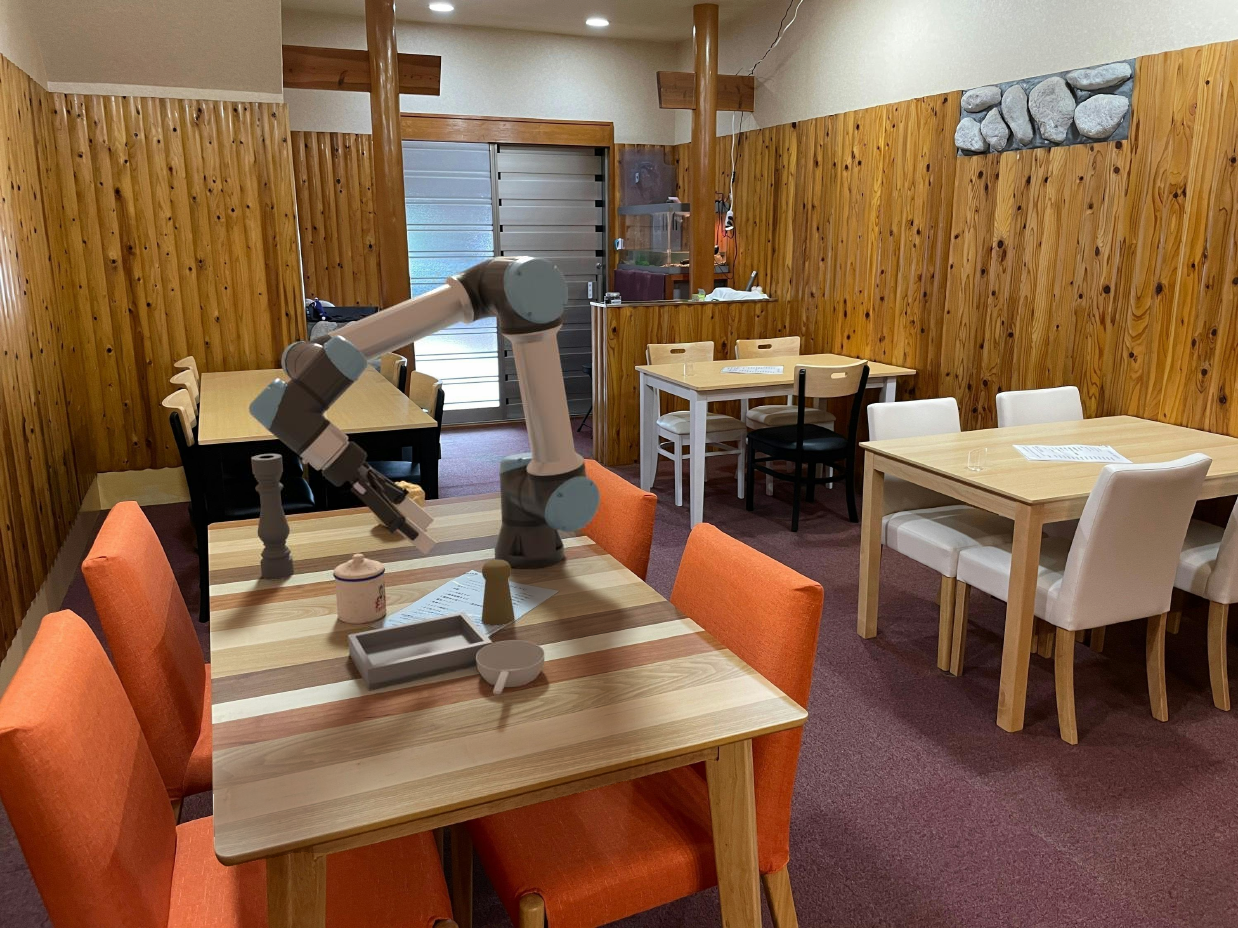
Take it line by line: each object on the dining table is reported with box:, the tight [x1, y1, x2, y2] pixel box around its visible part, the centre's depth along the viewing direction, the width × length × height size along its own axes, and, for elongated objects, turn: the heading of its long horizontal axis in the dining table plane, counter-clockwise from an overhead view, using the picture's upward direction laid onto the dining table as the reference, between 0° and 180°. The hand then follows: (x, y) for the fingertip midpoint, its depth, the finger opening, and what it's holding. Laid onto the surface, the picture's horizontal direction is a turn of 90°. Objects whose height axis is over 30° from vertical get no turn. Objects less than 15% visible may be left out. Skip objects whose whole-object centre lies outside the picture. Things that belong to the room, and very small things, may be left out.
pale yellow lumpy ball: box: [371, 480, 426, 528], centre depth 214 cm, size 12×12×11 cm
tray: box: [347, 611, 493, 691], centre depth 145 cm, size 20×14×4 cm
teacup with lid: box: [332, 553, 387, 625], centre depth 162 cm, size 12×9×12 cm
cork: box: [481, 559, 516, 626], centre depth 159 cm, size 6×6×11 cm
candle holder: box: [250, 453, 295, 580], centre depth 179 cm, size 6×6×25 cm
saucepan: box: [476, 639, 545, 695], centre depth 136 cm, size 11×18×4 cm, turn 178°
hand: (430, 536), depth 154 cm, fingers open, 13 cm apart
